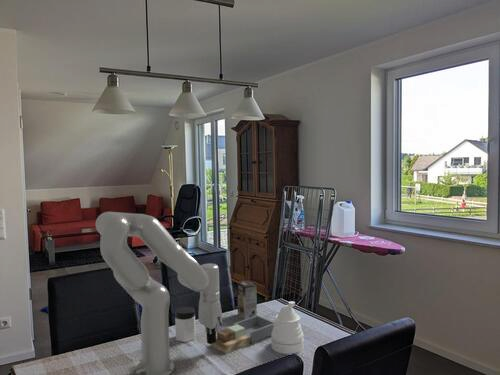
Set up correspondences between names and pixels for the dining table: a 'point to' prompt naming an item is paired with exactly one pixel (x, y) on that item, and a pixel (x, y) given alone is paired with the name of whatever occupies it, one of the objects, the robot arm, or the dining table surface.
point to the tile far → (237, 330)
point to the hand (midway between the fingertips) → (211, 342)
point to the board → (232, 344)
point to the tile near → (225, 335)
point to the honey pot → (287, 331)
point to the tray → (257, 328)
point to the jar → (185, 324)
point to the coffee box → (247, 299)
